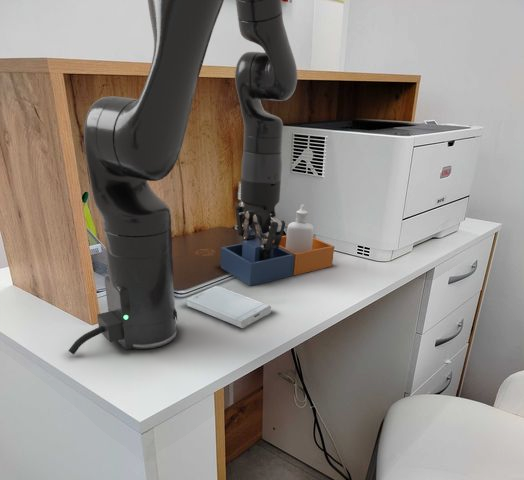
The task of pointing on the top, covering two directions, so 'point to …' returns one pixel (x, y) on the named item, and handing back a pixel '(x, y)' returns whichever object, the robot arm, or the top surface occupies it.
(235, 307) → the hard drive
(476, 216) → the top surface
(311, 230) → the eye dropper bottle
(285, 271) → the blue bin
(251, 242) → the blue block
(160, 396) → the top surface
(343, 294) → the top surface
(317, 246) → the amber bin
